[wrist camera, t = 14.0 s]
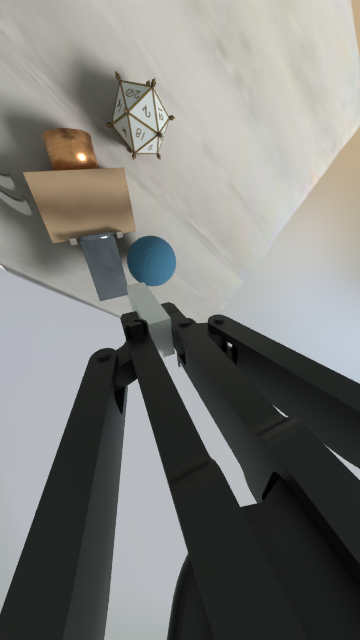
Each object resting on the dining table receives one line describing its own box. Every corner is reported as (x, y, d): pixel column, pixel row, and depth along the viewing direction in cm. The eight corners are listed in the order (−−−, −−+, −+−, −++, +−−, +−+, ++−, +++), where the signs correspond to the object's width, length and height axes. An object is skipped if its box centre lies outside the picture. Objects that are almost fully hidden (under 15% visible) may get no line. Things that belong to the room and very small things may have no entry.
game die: (122, 144, 33) (85, 131, 25) (138, 75, 28) (98, 30, 20) (166, 174, 34) (143, 171, 26) (189, 112, 29) (170, 84, 21)
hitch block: (36, 180, 28) (18, 169, 21) (117, 175, 32) (125, 165, 24) (60, 239, 33) (52, 248, 26) (128, 230, 36) (139, 235, 29)
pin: (45, 142, 27) (36, 127, 22) (90, 142, 28) (90, 128, 24) (85, 257, 35) (85, 265, 30) (118, 252, 37) (122, 258, 32)
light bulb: (166, 240, 40) (191, 250, 30) (154, 278, 43) (173, 297, 33) (127, 224, 36) (141, 229, 26) (116, 267, 39) (125, 286, 29)
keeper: (78, 235, 27) (77, 235, 26) (112, 230, 29) (112, 230, 28) (100, 299, 32) (100, 301, 31) (128, 292, 33) (129, 294, 32)
